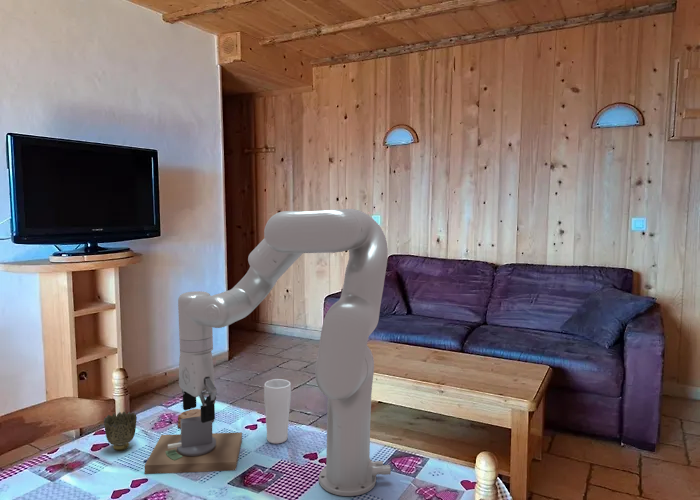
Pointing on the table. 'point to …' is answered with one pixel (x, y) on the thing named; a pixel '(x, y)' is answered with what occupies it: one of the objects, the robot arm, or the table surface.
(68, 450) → the table surface
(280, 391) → the drinking glass
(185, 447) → the tuning knob
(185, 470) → the wooden board
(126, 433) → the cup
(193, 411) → the cookie
